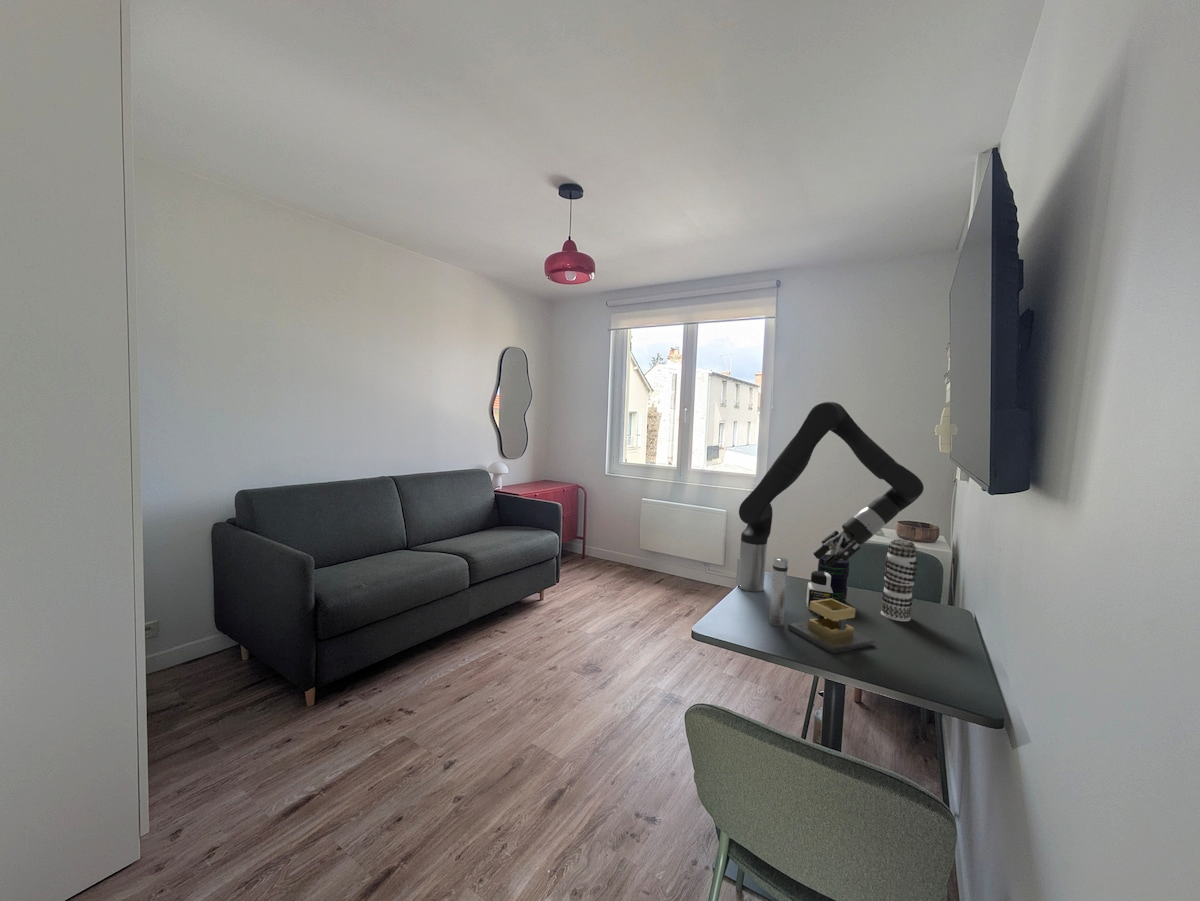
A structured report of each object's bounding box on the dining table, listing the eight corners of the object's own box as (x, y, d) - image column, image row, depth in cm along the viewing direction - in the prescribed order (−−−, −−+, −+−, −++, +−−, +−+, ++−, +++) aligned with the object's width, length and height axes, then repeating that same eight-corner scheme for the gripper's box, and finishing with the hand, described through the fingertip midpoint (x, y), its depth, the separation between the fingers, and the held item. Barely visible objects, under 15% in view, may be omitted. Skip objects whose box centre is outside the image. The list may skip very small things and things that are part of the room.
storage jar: (847, 599, 174) (851, 558, 173) (844, 607, 166) (848, 564, 165) (817, 592, 180) (820, 552, 179) (812, 600, 171) (816, 558, 170)
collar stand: (788, 628, 147) (790, 597, 146) (827, 622, 153) (830, 592, 153) (832, 653, 132) (835, 619, 132) (873, 645, 139) (877, 612, 138)
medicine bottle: (807, 609, 163) (810, 574, 162) (806, 602, 170) (809, 568, 169) (831, 613, 161) (834, 577, 160) (828, 605, 167) (831, 571, 167)
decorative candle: (902, 611, 165) (910, 538, 164) (917, 623, 156) (925, 545, 154) (874, 609, 166) (881, 536, 164) (887, 620, 157) (895, 543, 155)
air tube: (765, 621, 151) (770, 557, 150) (776, 620, 153) (781, 556, 151) (775, 627, 147) (780, 562, 146) (786, 625, 149) (791, 560, 148)
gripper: (844, 511, 153) (804, 545, 155) (866, 521, 139) (821, 558, 141) (860, 529, 154) (820, 563, 155) (884, 541, 139) (838, 577, 141)
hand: (820, 560), depth 148 cm, fingers open, 8 cm apart
